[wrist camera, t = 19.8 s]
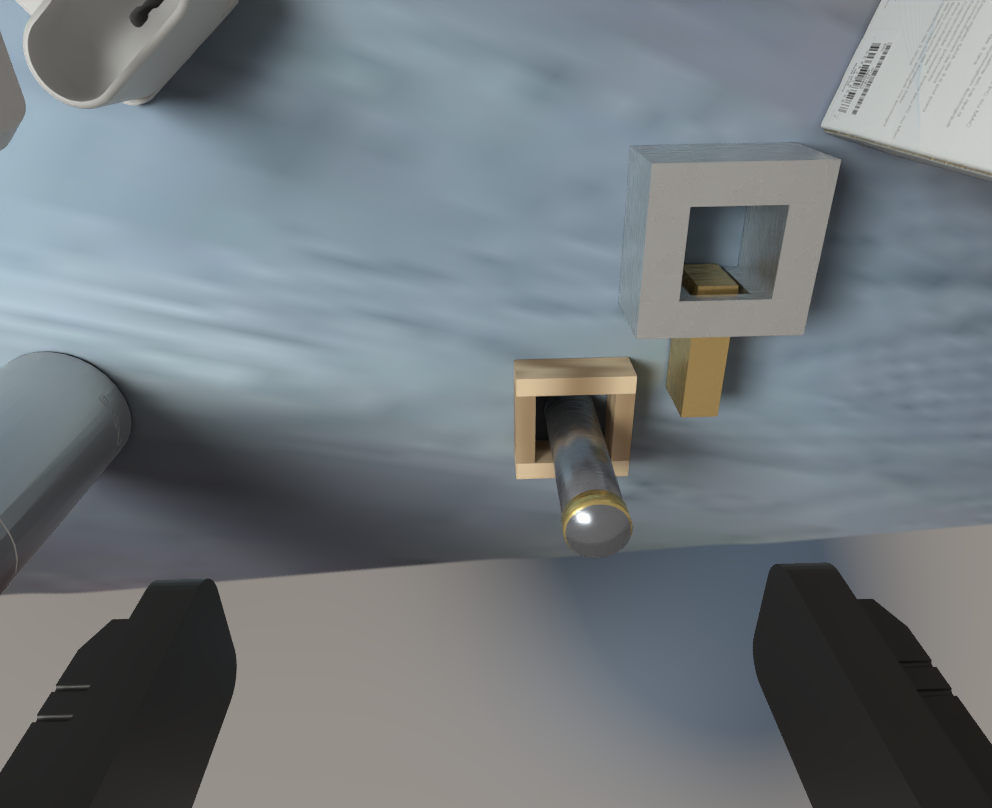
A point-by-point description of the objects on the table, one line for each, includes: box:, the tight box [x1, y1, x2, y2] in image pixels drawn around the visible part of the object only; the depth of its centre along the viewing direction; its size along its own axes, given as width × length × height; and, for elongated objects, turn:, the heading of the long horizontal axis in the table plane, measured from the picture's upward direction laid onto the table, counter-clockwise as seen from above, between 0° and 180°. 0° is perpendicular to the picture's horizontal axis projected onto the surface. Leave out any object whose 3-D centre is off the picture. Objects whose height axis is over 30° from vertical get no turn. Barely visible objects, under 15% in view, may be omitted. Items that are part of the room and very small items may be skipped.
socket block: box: [618, 142, 841, 339], centre depth 41 cm, size 10×10×6 cm
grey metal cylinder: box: [544, 395, 632, 558], centre depth 44 cm, size 4×4×14 cm
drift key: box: [666, 264, 738, 417], centre depth 45 cm, size 2×9×4 cm, turn 1°
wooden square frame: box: [514, 357, 637, 479], centre depth 49 cm, size 8×8×3 cm
